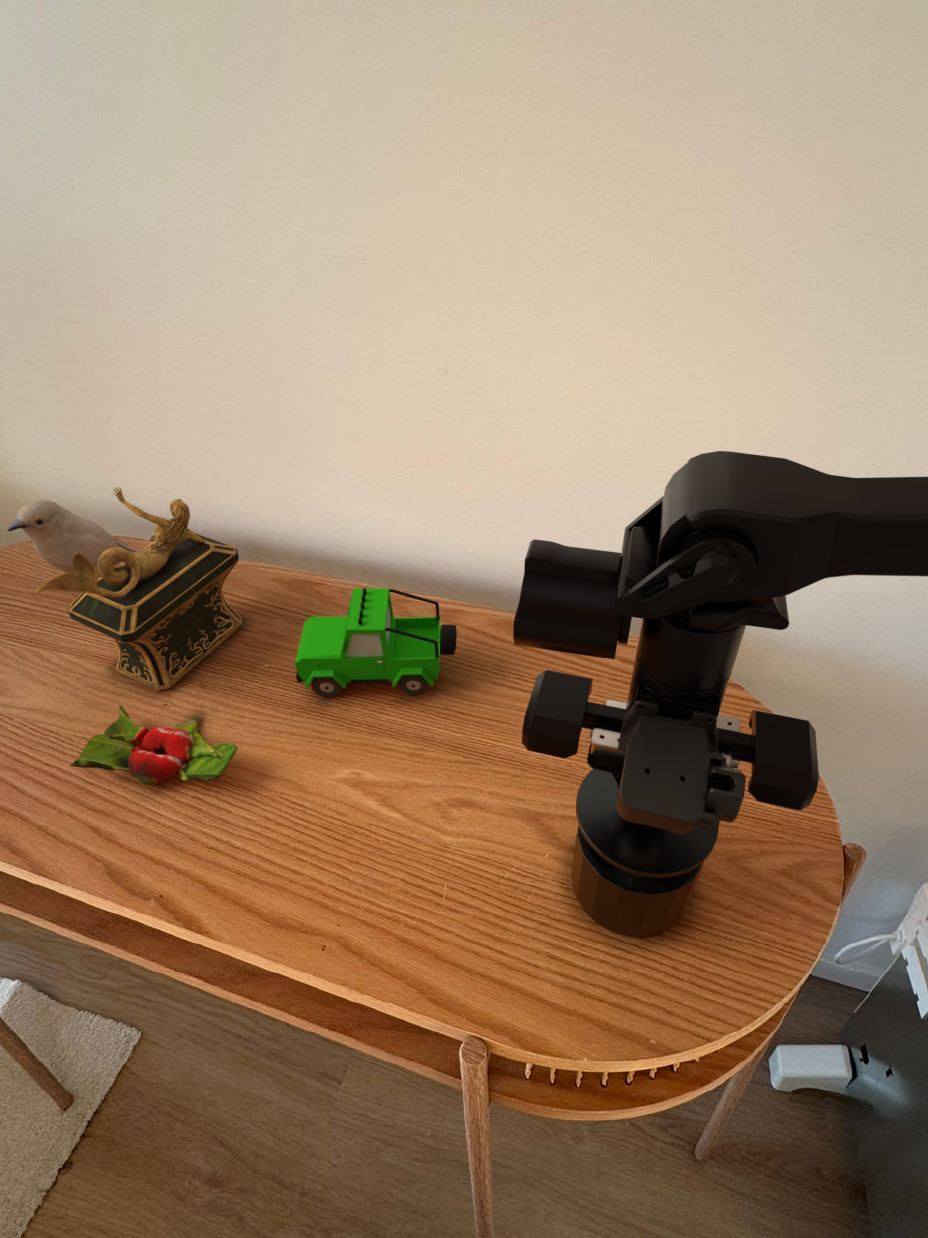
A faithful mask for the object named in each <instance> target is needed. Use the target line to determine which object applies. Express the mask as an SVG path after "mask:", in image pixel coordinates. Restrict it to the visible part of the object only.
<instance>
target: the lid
mask: <svg viewBox="0 0 928 1238" xmlns="http://www.w3.org/2000/svg"><path fill="white" fill-rule="evenodd" d="M618 792H619V787H618V785H617V783H616V780H615V778H614V777H613V775H612V773H609V772H605V771H600V770H596V769H593V768H591V770H590V771H589V772H588V773H587V774H586V775H585V776H584V778H583V779H582V781H581V782H580V785H579V788H578V791H577V794H576V797H575V798H576V799H575V815H576V820H577V824H579V827H580V829H581V832H582V834H583V835H584V837H585V839H586V840H587V842H588V843H589V845H590V846H591V847H592V848H593V849H594V850H595V851H596V852H597V853H598V854H599V855H600V856H601V857H602V858H603V859H605V860H606V861H608V862H609V863H611V864H612V865H614V866H616V867H617V868H619V869H621V870H624V871H626V872H629V873H631V874H635V875H639V876H644V877H650V878H666V877H673V876H678V875H681V874H684V873H687V872H689V871H691V870H693V869H694V868H696V867H697V866H699V865H700V864H701V863H703V862H704V863H705V861H706V860H707V858H709V856H710V855H711V853H712V852H713V850H714V848H715V845H716V843H717V840H718V837H719V831H720V830H719V829H720V827H719V828H718V831H717V832H714V831H712V830H711V831H710V830H706V829H701V828H697V827H694V828H693V829H692V830H691V831H690V832H688V833H684V834H679V833H674V832H670V831H668V830H665V829H661V828H656V827H652V826H648V825H644V824H636V823H632V822H628V821H626V820H624V819H623V818H622V817H621V816H620V815H619V813H618V811H617V806H616V805H617V798H618ZM704 863H703V864H704Z"/></svg>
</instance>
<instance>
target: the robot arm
mask: <svg viewBox="0 0 928 1238" xmlns="http://www.w3.org/2000/svg"><path fill="white" fill-rule="evenodd" d="M623 532H624V533H623V539H622V545H621V552H617V551H610V550H602V549H593V548H585V547H576V546H569V545H564V544H561V543H558V542H555V541H551V540H545V539H544V540H543V539H532V540H531V541H529V545H528V549H527V551H526V555H525V558H524V567H523V568H524V569H523V576H522V582H521V587H520V595H519V599H518V600H519V601H518V604H517V608H516V611H515V614H514V618H513V625H512V627H513V629H512V631H513V632H512V637H513V638H512V639H513V644H514V645H515V646H520V647H527V648H534V649H539V650H547V651H553V652H560V653H568V654H573V655H579V656H585V657H593V658H599V659H608V660H609V659H610V660H616V659H615V658H616V654H617V648H618V645H625V646H627V645H628V644H629V643H628V642H629V636H630V632H631V625H632V619H633V618H636V619H641V627H640V631H639V637H638V642H637V648H636V652H635V657H634V663H633V670H632V674H631V679H630V683H629V690H628V695H627V701H626V702H625V701H619V700H614V699H607V700H606V702H605V703H603V704H602V703H597V702H592V701H589V700H590V695H591V694H592V691H593V683H594V678H590V677H586V676H580V675H577V674H576V675H575V674H570V673H565V672H560V671H555V670H550V669H545V670H543V671H542V672H541V673H539V674H538V675H537V676H536V679H535V682H534V685H533V687H532V690H531V695H530V697H529V700H528V704H527V707H526V711H525V712H524V713H525V714H524V717H523V722H522V730H521V734H522V735H521V744H522V745H523V746H524V748H525V749H526V751H528V752H533V753H537V754H541V755H545V756H549V757H550V756H551V757H555V758H559V759H567V758H570V757H573V756H575V755H578V751H579V747H580V740H581V739H580V738H581V735H582V730H583V729H587V730H590V733H589V738H590V743H589V747H588V753H587V757H586V763H587V765H588V766H589V767H590V768H591V769H596V770H600V771H605V772H609V773H612V775H613V777H614V778H615V780H616V783H617V785H618V787H619V792H618V798H617V805H616V806H617V811H618V813H619V815H620V816H621V817H622V818H623V819H624V820H626V821H628V822H632V823H636V824H644V825H648V826H652V827H656V828H661V829H665V830H668V831H670V832H674V833H679V834H684V833H688V832H690V831H691V830H692V829H693V828H694V827H697V828H701V829H706V830H710V831H711V830H712V831H714V832H717V831H718V828H719V829H720V823H721V822H725V823H730V824H732V823H733V822H735V820H736V819H737V818H738V816H739V814H740V810H741V807H742V804H743V801H744V798H745V790H746V780H747V775H745V774H744V772H743V771H742V770H740V769H739V767H740V764H741V762H743V763H749V764H751V773H750V778H749V780H748V783H747V792H748V793H749V794H750V796H752V797H753V798H754V799H755V800H756V802H759V803H763V804H768V805H772V806H777V807H781V808H786V809H791V810H795V811H799V812H800V811H803V810H805V809H806V808H808V807H810V805H811V804H812V801H813V799H814V797H815V795H816V793H817V791H818V786H819V780H820V773H819V759H818V746H817V731H816V729H815V728H814V726H813V725H812V723H811V721H809V720H807V719H802V718H797V717H792V716H788V715H782V714H777V713H772V712H766V711H762V710H756V709H751V712H750V715H749V718H748V727H749V728H750V729H751V733H745V732H741V719H740V718H739V717H736V716H732V715H726V714H722V713H720V711H721V707H722V704H723V700H724V698H725V696H726V695H725V694H726V691H727V688H728V685H729V681H730V679H731V675H732V672H733V670H734V666H735V663H736V660H737V657H738V653H739V651H740V647H741V644H742V641H743V638H744V634H745V631H746V629H747V627H748V626H749V627H756V628H761V629H762V628H764V629H770V630H776V631H783V630H786V629H787V628H788V627H789V626H790V618H789V610H788V602H787V596H788V595H791V594H793V593H795V592H797V591H800V590H802V589H804V588H806V587H809V586H811V585H813V584H815V583H817V582H820V581H822V580H826V579H830V578H839V577H841V578H842V577H850V576H869V577H870V576H873V577H874V576H875V577H927V578H928V476H889V477H887V476H885V477H883V476H882V477H881V476H880V477H852V476H844V475H837V474H829V473H825V472H823V471H820V470H818V469H815V468H813V467H810V466H807V465H805V464H802V463H800V462H799V463H798V462H796V461H794V460H792V459H788V458H784V457H777V456H769V455H761V454H753V453H745V452H739V451H738V452H736V451H728V450H727V451H726V450H716V451H710V452H705V453H704V452H703V453H699V454H697V455H695V456H692V457H690V458H689V459H688V460H687V462H686V463H685V464H684V465H682V466H681V467H680V468H679V469H678V470H677V471H675V472H674V473H673V474H672V476H671V477H670V479H669V481H668V482H667V484H666V485H665V488H664V491H663V495H662V496H661V497H660V498H659V499H657V500H656V501H655V502H654V503H653V504H652V505H650V506H649V507H647V509H646V510H645V511H643V512H642V513H641V514H640V515H638V516H637V517H636V518H635V519H633V521H632V522H630V523H629V524H628V525H627V526H625V528H624V531H623Z"/></svg>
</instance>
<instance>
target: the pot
mask: <svg viewBox="0 0 928 1238" xmlns="http://www.w3.org/2000/svg"><path fill="white" fill-rule="evenodd" d="M577 824H578V823H577ZM704 863H705V861H704V862H703V863H701V864H700V865H699V866H697V867H696V868H694V869H693V870H691V871H689V872H687V873H684V874H681V875H678V876H673V877H666V878H650V877H644V876H639V875H635V874H631V873H629V872H626V871H624V870H621V869H619V868H617V867H616V866H614V865H612V864H611V863H609V862H608V861H606V860H605V859H603V858H602V857H601V856H600V855H599V854H598V853H597V852H596V851H595V850H594V849H593V848H592V847H591V846H590V845H589V843H588V842H587V840H586V839H585V837H584V835H583V834H582V832H581V829H580V827H579V824H578V826H577V831H576V839H575V846H574V853H573V860H572V867H571V872H570V877H571V884H572V889H573V892H574V896H575V897H576V899H577V901H578V904H579V906H580V907H581V908H582V910H583V911H584V912H585V913H586V914H587V916H588V917H589V918H590V919H591V920H592V921H594V922H595V923H596V924H597V925H599V926H600V927H602V928H604V929H605V930H608V931H609V932H611V933H614V934H616V935H619V936H622V937H627V938H633V939H637V938H638V939H644V938H645V939H646V938H651V937H656V936H659V935H661V934H664V933H666V932H668V931H669V930H670V929H672V928H673V927H675V926H676V924H678V922H679V921H680V920H681V918H682V917H683V915H684V914H685V912H686V909H687V907H688V906H689V903H690V901H691V898H692V895H693V893H694V890H695V888H696V885H697V882H698V879H699V877H700V875H701V871H702V868H703V867H704Z"/></svg>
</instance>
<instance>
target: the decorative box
mask: <svg viewBox="0 0 928 1238" xmlns="http://www.w3.org/2000/svg"><path fill="white" fill-rule="evenodd" d="M112 490H113V491H114V492H115V493H114V492H112V494H113V495H114V496H115V497H116V498H117V499H118V501H119V502H120V503H121V504H122V505H124V506H125V507H126V508H127V509H129V510H130V512H132V513H134V514H135V515H136V516H138V517H139V518H143V519H144V520H146V521H148V522H151V523H153V524H155V525H156V526H155V527H154V532H155V538H154V541H152V542H150V543H149V544H147V545H145V547H142V548H140V549H139V550H137V552H135V553H134V554H132V553H131V552H130V551H128V550H126V549H123V548H110V549H107V550H106V551H104V552H103V553H102V554H101V555H100V557H99V559H98V562H97V570H98V572H99V574H100V576H101V577H99V578H98V573H97V570H96V567H95V566H94V564H93V563H92V562H91V561H90V560H89V559H88V558H86V557H85V556H84V555H82V554H81V553H79V552H76V553H75V554H74V556H73V562H72V565H73V568H74V569H75V570H76V571H77V572H78V574H77V575H74V574H72V573H67V572H65V573H63V574H60V575H58V576H56V577H53V578H52V579H49V580H47V581H45V582H44V583H42V584H41V585H40V586H38V587H37V589H36V591H35V593H36V594H39V593H42V592H46V591H60V592H66V593H77V594H79V595H77V597H76V598H75V599H74V600H73V601H72V602H71V603H70V605H69V606H68V610H67V614H68V616H70V617H69V618H70V619H71V620H72V621H74V622H76V623H79V624H80V625H83V626H86V627H88V628H89V629H92V630H94V631H97V632H99V633H101V634H103V635H105V636H107V637H109V638H112V639H113V640H114V641H115V643H116V645H117V647H118V657H117V660H116V661H117V662H116V671H117V673H120V674H122V675H124V676H125V677H128V678H130V679H133V680H134V681H136V682H138V683H141V684H143V685H145V686H147V687H149V688H151V689H154V690H155V691H158V692H159V691H165V690H169V689H171V687H173V686H174V685H175V684H176V683H178V682H179V681H181V679H182V678H183V677H185V676H186V675H187V674H188V673H189V672H190V671H191V670H192V669H194V668H195V667H196V666H198V665H199V663H201V662H202V661H203V660H204V659H205V658H206V657H208V656H209V655H210V654H211V653H213V651H215V650H216V649H217V648H218V647H219V646H220V645H221V644H222V643H223V642H225V641H226V640H227V639H228V638H229V637H231V635H233V634H234V633H235V632H236V631H238V630H239V629H240V628H241V627H242V626H243V619H242V617H241V616H240V615H239V614H238V612H236V611H235V610H234V609H233V608H232V607H231V606H230V605H229V603H228V602H227V601H226V599H225V596H224V594H223V588H224V584H225V581H226V580H227V579H226V578H227V577H228V576H229V574H230V573H231V572H232V571H233V569H234V567H236V565H237V564H238V562H239V560H240V556H239V555H240V554H239V551H238V548H237V547H235V546H233V545H231V544H227V543H224V542H222V541H219V540H217V539H213V538H210V537H207V536H204V535H202V534H199V533H197V532H194V530H192V529H190V528H188V527H189V523H190V519H191V512H190V508H189V506H188V504H187V503H185V502H184V501H183V500H182V499H181V498H176V499H174V500H172V501H171V502H170V503H169V512H170V514H171V516H172V518H169V519H167V518H165V517H162V516H156V515H153V514H151V513H148V512H146V511H144V510H143V509H141V508H140V507H138V506H137V505H134V504H132V503H130V502H128V501H127V500H126V499H125V496H124V494H123V490H122V488H121V487H120V486H119V487H116V486H115V487H114V488H113V489H112ZM116 561H123V563H121V564H120V565H118V566H117V567H113V565H114V563H115V562H116Z"/></svg>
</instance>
